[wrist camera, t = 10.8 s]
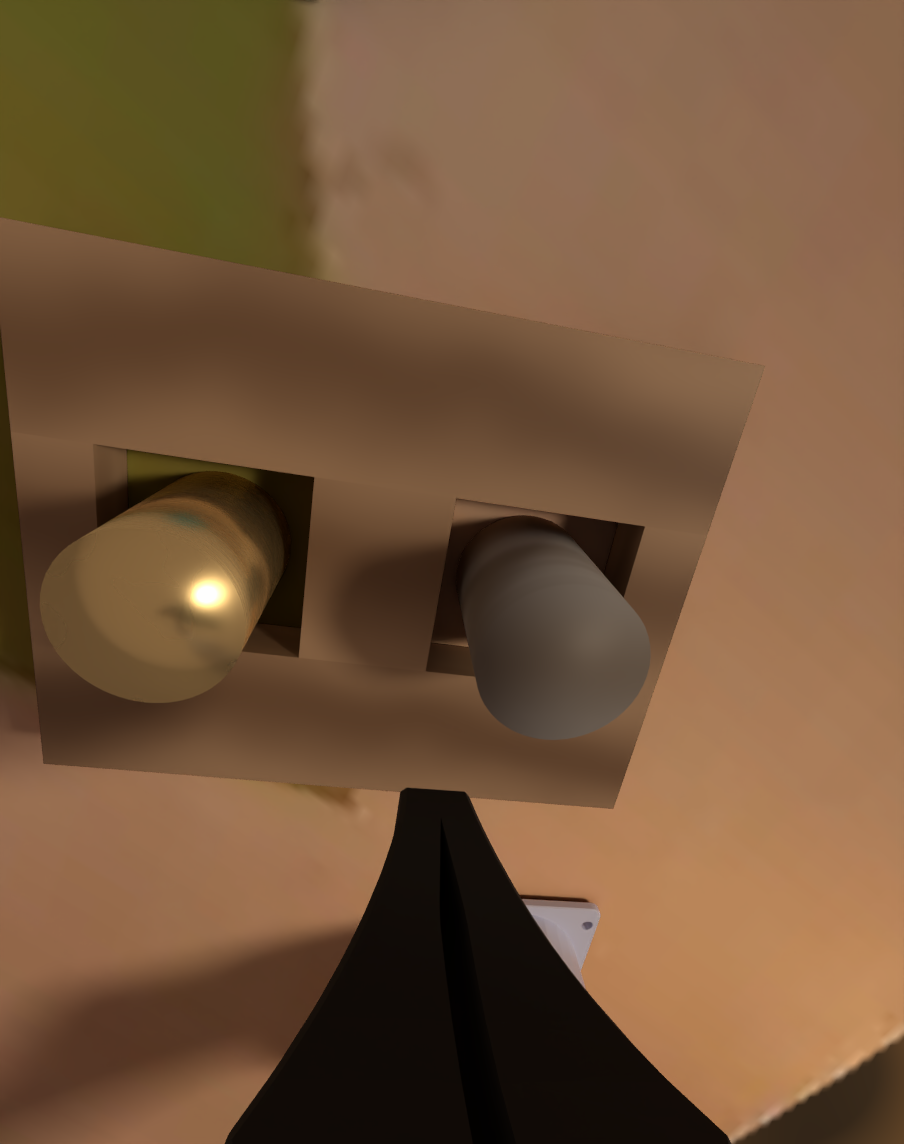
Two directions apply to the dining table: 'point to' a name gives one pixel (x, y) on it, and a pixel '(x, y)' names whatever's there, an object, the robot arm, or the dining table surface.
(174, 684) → the brass sleeve
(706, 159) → the dining table surface
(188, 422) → the walnut jig
